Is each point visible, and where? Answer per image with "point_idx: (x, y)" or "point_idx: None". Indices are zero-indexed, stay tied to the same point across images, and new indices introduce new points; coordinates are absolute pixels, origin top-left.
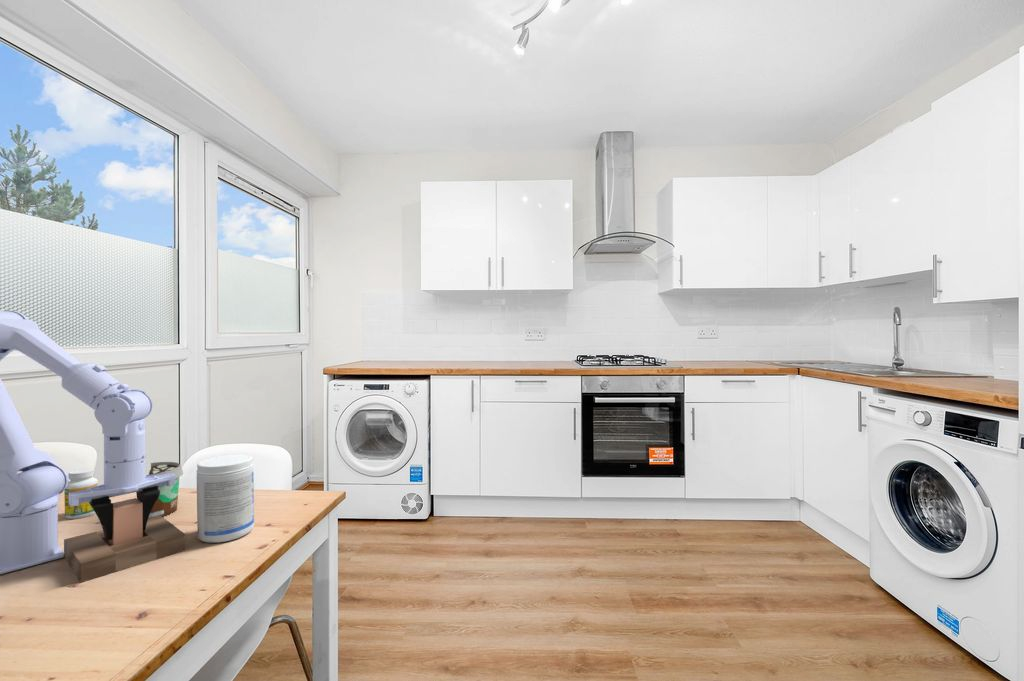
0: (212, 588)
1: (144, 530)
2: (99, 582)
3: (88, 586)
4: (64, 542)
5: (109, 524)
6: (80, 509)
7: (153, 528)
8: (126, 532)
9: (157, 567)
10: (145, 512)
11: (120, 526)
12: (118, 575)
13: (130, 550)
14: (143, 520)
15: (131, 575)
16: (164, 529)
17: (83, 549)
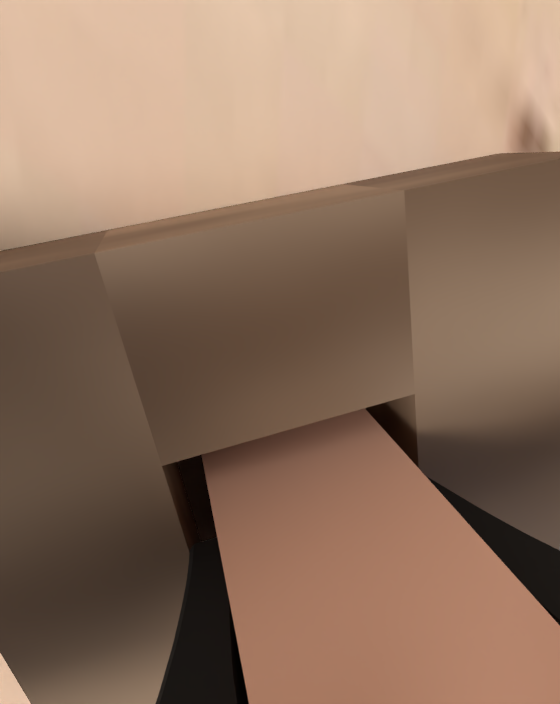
0: None
1: (195, 547)
2: (430, 67)
3: (481, 50)
4: None
5: (507, 553)
6: None
7: (131, 597)
8: (333, 494)
9: (92, 34)
10: (209, 701)
11: (408, 528)
12: (334, 102)
13: (300, 210)
14: (216, 611)
15: (265, 22)
16: (42, 540)
17: (528, 430)
